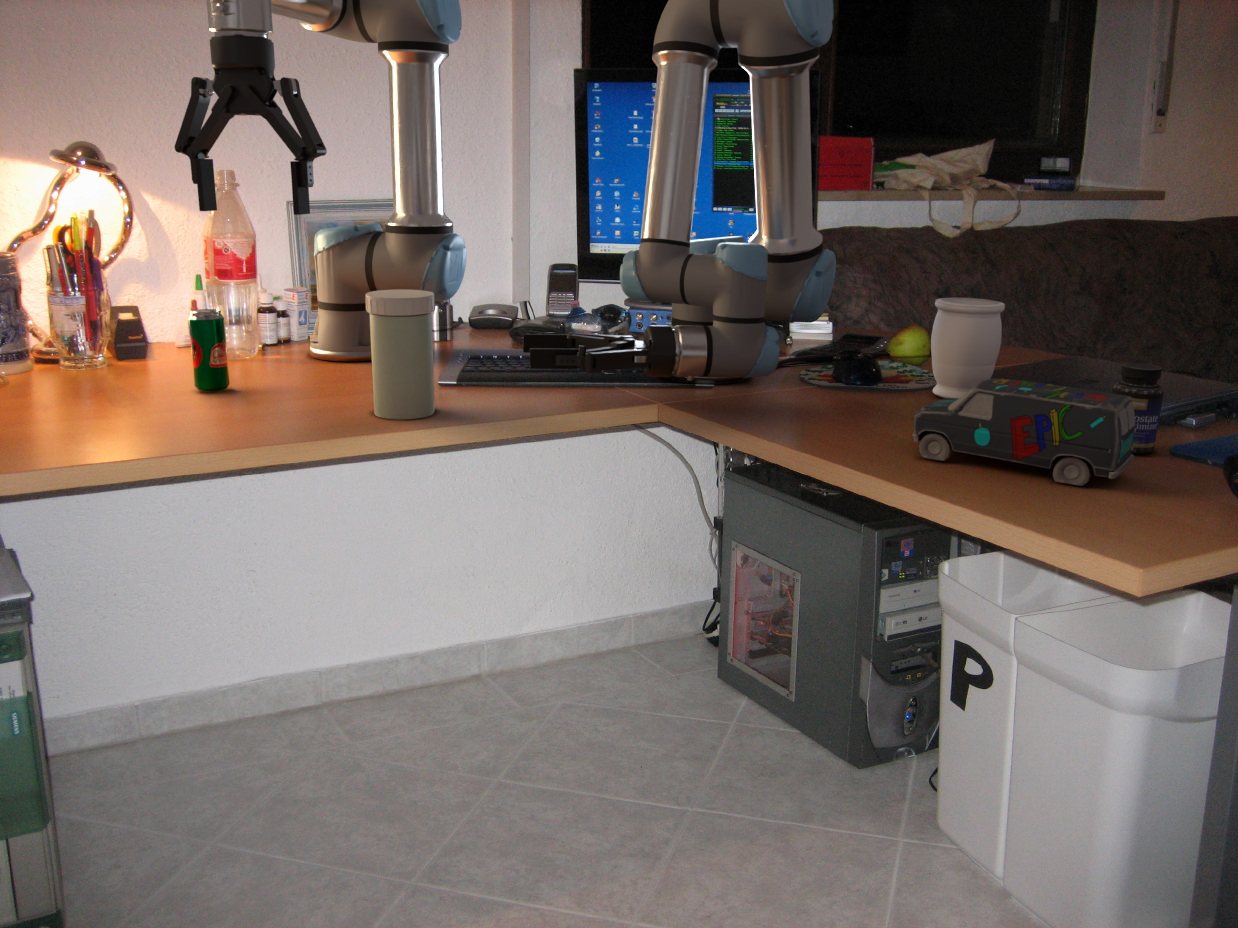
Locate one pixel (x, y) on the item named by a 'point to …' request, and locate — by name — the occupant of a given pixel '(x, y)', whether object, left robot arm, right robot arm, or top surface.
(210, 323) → the soda can
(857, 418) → the top surface
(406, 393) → the screw-top jar
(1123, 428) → the toy van
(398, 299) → the lid
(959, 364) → the jar
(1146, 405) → the pill bottle
